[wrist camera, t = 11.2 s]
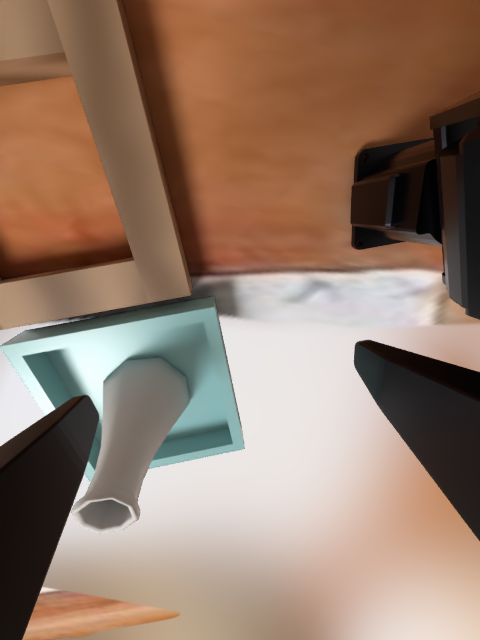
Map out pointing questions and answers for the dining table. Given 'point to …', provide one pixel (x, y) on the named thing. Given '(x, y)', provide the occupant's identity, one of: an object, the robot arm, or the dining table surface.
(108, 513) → the flask
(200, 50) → the dining table surface
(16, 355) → the teal tray
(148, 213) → the frame
